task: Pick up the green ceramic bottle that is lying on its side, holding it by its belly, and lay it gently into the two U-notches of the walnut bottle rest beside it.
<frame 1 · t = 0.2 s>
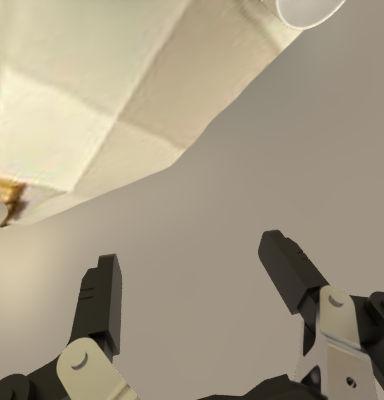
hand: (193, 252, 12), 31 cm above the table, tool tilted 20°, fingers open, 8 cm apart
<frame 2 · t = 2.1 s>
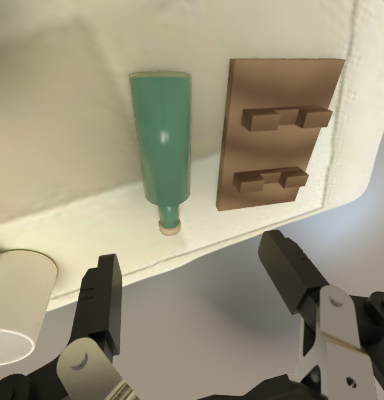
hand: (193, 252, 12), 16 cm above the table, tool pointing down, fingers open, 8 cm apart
bottle: (162, 134, 24), on the table
mug: (15, 259, 30), on the table
bottle rest: (267, 143, 28), on the table
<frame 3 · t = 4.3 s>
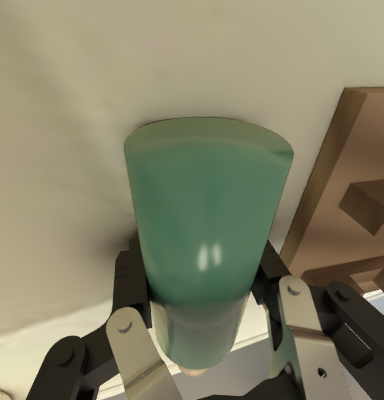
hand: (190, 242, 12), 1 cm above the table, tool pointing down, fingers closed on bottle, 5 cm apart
bottle: (189, 224, 13), on the table, touching gripper
bottle rest: (361, 221, 16), on the table
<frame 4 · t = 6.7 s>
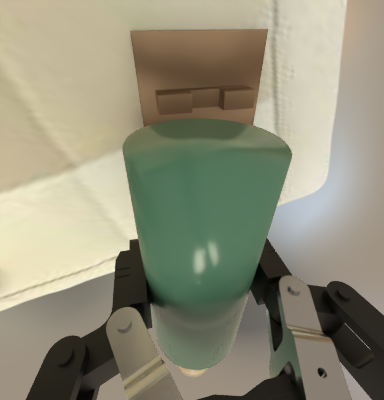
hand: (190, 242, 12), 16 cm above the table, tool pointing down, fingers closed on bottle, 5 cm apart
bottle: (189, 225, 13), point 15 cm above the table, touching gripper
bottle rest: (198, 130, 25), on the table
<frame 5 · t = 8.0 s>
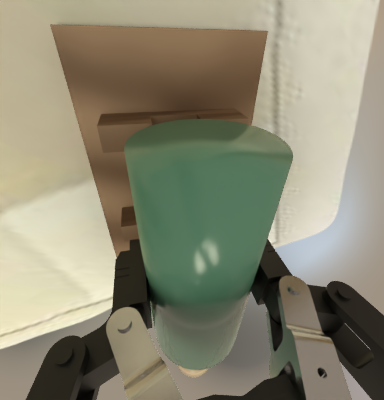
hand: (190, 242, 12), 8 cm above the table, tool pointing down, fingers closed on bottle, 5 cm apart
bottle: (189, 225, 13), point 7 cm above the table, touching gripper
bottle rest: (171, 164, 18), on the table
when the fingers open (5 cm above the table, at t = 9.1 s): bottle stays where it is, resting on bottle rest.
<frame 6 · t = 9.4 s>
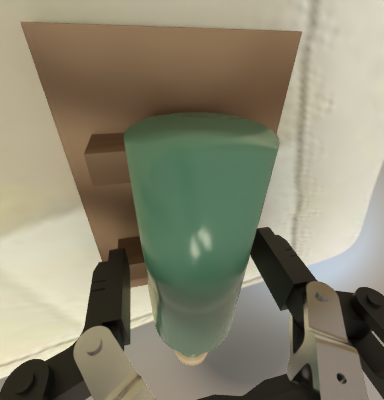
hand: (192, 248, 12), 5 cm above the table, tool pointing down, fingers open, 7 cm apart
bottle: (186, 216, 13), point 3 cm above the table, touching bottle rest
bottle rest: (177, 188, 16), on the table
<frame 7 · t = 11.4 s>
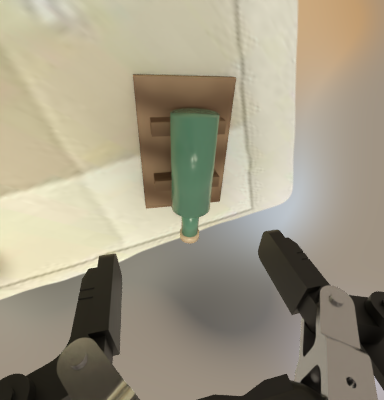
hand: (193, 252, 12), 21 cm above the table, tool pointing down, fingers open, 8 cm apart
bottle: (188, 156, 29), point 3 cm above the table, touching bottle rest
bottle rest: (183, 148, 31), on the table
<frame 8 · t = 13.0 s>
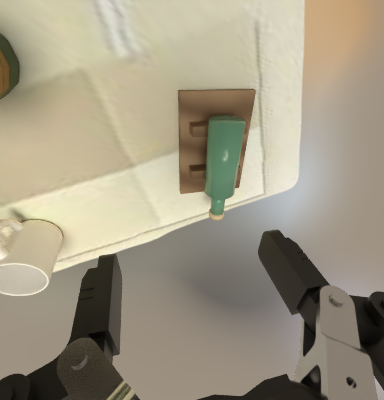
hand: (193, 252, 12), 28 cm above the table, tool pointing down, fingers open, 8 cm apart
bottle: (217, 152, 37), point 3 cm above the table, touching bottle rest
mug: (33, 227, 42), on the table
bottle rest: (212, 145, 39), on the table
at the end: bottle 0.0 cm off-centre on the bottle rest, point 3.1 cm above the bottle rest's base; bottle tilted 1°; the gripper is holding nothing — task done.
